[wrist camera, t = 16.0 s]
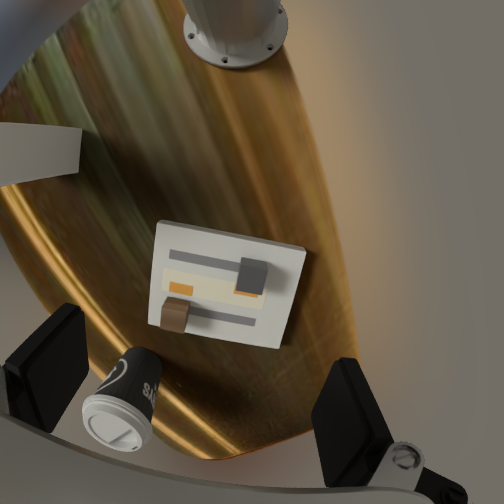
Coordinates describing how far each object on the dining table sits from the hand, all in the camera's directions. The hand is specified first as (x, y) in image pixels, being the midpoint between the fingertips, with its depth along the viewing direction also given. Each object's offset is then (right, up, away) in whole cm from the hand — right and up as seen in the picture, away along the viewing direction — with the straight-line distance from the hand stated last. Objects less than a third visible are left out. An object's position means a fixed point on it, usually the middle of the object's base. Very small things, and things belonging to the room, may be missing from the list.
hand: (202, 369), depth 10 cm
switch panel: (-2, 0, +30) cm, 30 cm away
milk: (-24, +18, +24) cm, 38 cm away
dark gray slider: (+2, +2, +26) cm, 27 cm away
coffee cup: (-15, -13, +34) cm, 39 cm away
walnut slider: (-8, -3, +28) cm, 29 cm away
